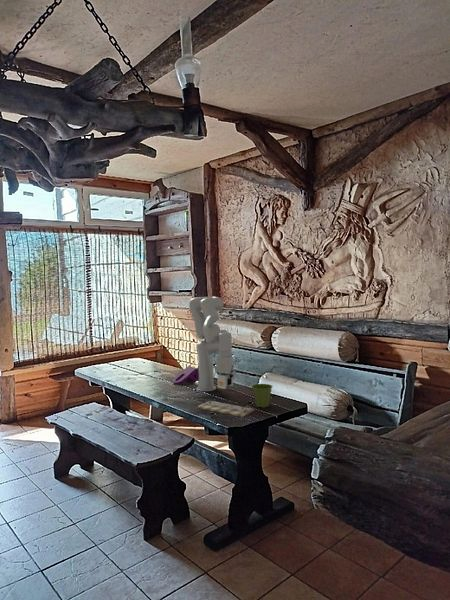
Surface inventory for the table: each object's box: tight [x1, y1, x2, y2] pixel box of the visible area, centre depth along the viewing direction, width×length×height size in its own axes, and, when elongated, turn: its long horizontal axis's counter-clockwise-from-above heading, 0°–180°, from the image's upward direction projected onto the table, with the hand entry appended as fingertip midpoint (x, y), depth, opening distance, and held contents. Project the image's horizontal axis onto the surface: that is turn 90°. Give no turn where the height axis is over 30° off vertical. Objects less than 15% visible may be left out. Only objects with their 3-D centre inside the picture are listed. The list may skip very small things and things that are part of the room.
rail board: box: [197, 400, 256, 418], centre depth 252 cm, size 30×12×1 cm, turn 55°
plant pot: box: [251, 383, 273, 408], centre depth 257 cm, size 12×12×11 cm
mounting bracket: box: [172, 365, 199, 386], centre depth 315 cm, size 9×8×18 cm
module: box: [217, 373, 234, 390], centre depth 266 cm, size 5×9×8 cm, turn 145°
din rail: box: [204, 400, 248, 412], centre depth 252 cm, size 26×4×2 cm, turn 55°
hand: (225, 383), depth 266 cm, fingers closed on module, 5 cm apart
